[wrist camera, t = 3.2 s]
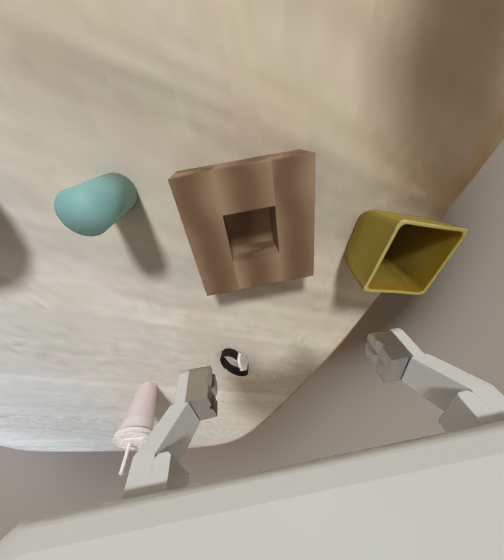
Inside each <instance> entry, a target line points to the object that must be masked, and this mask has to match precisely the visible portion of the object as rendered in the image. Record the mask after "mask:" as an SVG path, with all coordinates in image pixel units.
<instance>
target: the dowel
mask: <svg viewBox="0 0 504 560" xmlns="http://www.w3.org/2000/svg"><path fill="white" fill-rule="evenodd" d="M137 199H138V194H137V190H136V188H135V186H134V184H133V183H132V182H131V181H130V180H129V179H128V178H127V177H125V176H123V175H121V174H118V173H108V174H105V175H103V176H100V177H97V178H95V179H92V180H89V181H87V182H84V183H81V184H79V185H76V186H73V187H71V188H68V189H65V190H63V191H61V192H60V193H59V194H58V195H57V196H56V198H55V202H54V206H55V211H56V214H57V216H58V217H59V219H60V220H61V222H62V223H63V224H64V225H65V226H66V227H68V228H69V229H71V230H72V231H74V232H76V233H78V234H81V235H85V236H97V235H100V234H102V233H104V232H105V231H106V230H107V229H108V228H109V227H111V226H112V225H113V224H114V223H115V222H116V221H117V220H119V219H120V218H121V217H122V216H123V215H124V214H126V213H127V212H128V211H129V210H130V209H131V208H132V207H134V206H135V204H136V203H137Z"/></svg>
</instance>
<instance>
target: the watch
mask: <svg viewBox="0 0 504 560" xmlns="http://www.w3.org/2000/svg"><path fill="white" fill-rule="evenodd" d="M224 356H230V357H233V358H234V359H236V360H237V361H238V366H239V368H238V367H235V366H233V365H231V364H230V363H229V362H228V361H227V360H226V359H225V358H224ZM220 361H221V364H222V366H223V367H224V368H225V369H227V370H228V371H229V372H231V373H233V374H235V375H238V376H246V375H247V374H248V360H247V356H246V355H245V353H239V352H237V351H235V350H233V349H224V350H223V351H222V354H221V358H220Z"/></svg>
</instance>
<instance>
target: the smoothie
mask: <svg viewBox="0 0 504 560" xmlns="http://www.w3.org/2000/svg"><path fill="white" fill-rule="evenodd" d="M156 396H157V386H156V385H155V384H153V383H142V384H140V385H139V386H138V389H137V391H136V393H135V395H134V397H133V400H132V402H131V404H130V406H129V408H128V410H127V413H126V415H125V417H124V419H123V421H122V423H121V426H120V428H119V430H118V431H117V432H116V433H115V435H114V439H113V443H114V444H115V445H116V446H118V447H120V448H124V449H126V451H125V455H124V459H123V462H122V465H121V469H120V472H119V475H123V471H124V468H125V464H126V461H127V457H128V454H129V450H130V449H140V447H141V446H142V444H143V443H144V442H145V440H146V439H147V438H148V436H149V435H150V433H151V432H152V431H153V425H154V415H155V406H156Z"/></svg>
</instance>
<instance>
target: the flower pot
mask: <svg viewBox="0 0 504 560" xmlns="http://www.w3.org/2000/svg"><path fill="white" fill-rule="evenodd" d="M468 232H469V230H468V229H466V228H463V227H459V226H456V225H452V224H448V223H444V222H440V221H436V220H433V219H429V218H424V217H416V216H409V215H401V214H395V213H389V212H383V211H376V210H370V211H366V212H364V213H363V214H361V215H360V217H359V219H358V221H357V224H356V226H355V228H354V231H353V233H352V235H351V238H350V240H349V242H348V245H347V250H346V260H347V264H348V266H349V268H350V270H351V272H352V273H353V275H354V276H355V278H356V279H357V281H358V282H359V284H360V285H361V287H362V288H363V290H364V291H366V292H387V293H389V292H390V293H403V294H414V295H420V294H424V293H425V292H426V291H427V289H428V288H429V287H430V285H431V284H432V282H433V281H434V279H435V278H436V277H437V275H438V274H439V272H440V271H441V270H442V268H443V267H444V265H445V264H446V263H447V261H448V260H449V258H450V257H451V256H452V254H453V253H454V252H455V250H456V249H457V248H458V246H459V245H460V243H461V242H462V240H463V239H464V238H465V236H466V235H467V233H468Z"/></svg>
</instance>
